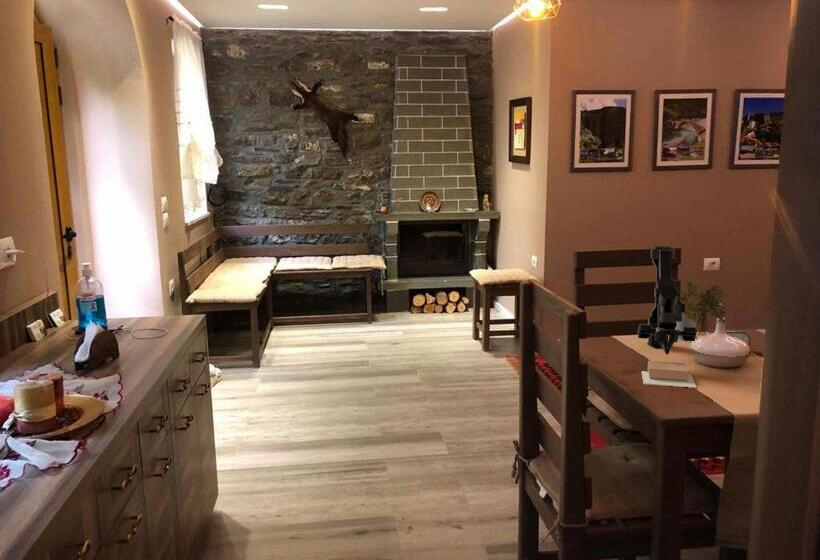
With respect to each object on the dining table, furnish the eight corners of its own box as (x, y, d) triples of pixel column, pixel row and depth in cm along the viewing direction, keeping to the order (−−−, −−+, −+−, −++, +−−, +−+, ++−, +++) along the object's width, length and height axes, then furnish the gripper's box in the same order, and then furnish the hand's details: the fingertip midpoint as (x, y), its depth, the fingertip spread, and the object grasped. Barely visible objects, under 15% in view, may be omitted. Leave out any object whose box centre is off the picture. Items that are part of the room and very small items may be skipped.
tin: (747, 350, 254) (749, 329, 252) (750, 353, 251) (752, 331, 249) (706, 350, 255) (708, 328, 254) (709, 352, 252) (710, 330, 251)
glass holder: (677, 341, 267) (679, 305, 264) (665, 332, 281) (667, 298, 278) (699, 342, 266) (702, 305, 264) (686, 332, 280) (688, 298, 278)
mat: (641, 372, 230) (641, 371, 230) (691, 375, 225) (691, 374, 225) (643, 384, 217) (643, 383, 217) (696, 388, 213) (696, 387, 213)
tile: (648, 360, 229) (649, 368, 221) (685, 363, 226) (688, 371, 218) (647, 370, 230) (649, 378, 222) (684, 373, 227) (687, 381, 218)
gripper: (640, 301, 231) (640, 340, 223) (697, 304, 226) (700, 343, 218) (637, 318, 240) (637, 356, 232) (693, 321, 235) (695, 360, 226)
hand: (667, 353), depth 227 cm, fingers closed
